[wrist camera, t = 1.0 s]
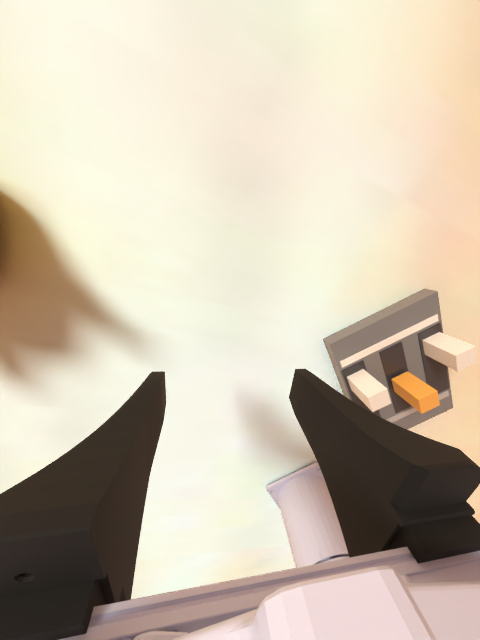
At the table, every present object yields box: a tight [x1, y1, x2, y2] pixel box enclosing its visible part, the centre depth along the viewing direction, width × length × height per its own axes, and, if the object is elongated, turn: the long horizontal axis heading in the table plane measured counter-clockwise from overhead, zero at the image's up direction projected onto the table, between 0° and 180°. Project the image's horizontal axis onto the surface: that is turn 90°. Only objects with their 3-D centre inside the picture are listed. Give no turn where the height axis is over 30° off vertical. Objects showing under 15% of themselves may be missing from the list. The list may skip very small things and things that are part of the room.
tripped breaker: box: [391, 371, 440, 414], centre depth 24 cm, size 2×2×4 cm
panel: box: [323, 289, 477, 429], centre depth 25 cm, size 17×12×5 cm
